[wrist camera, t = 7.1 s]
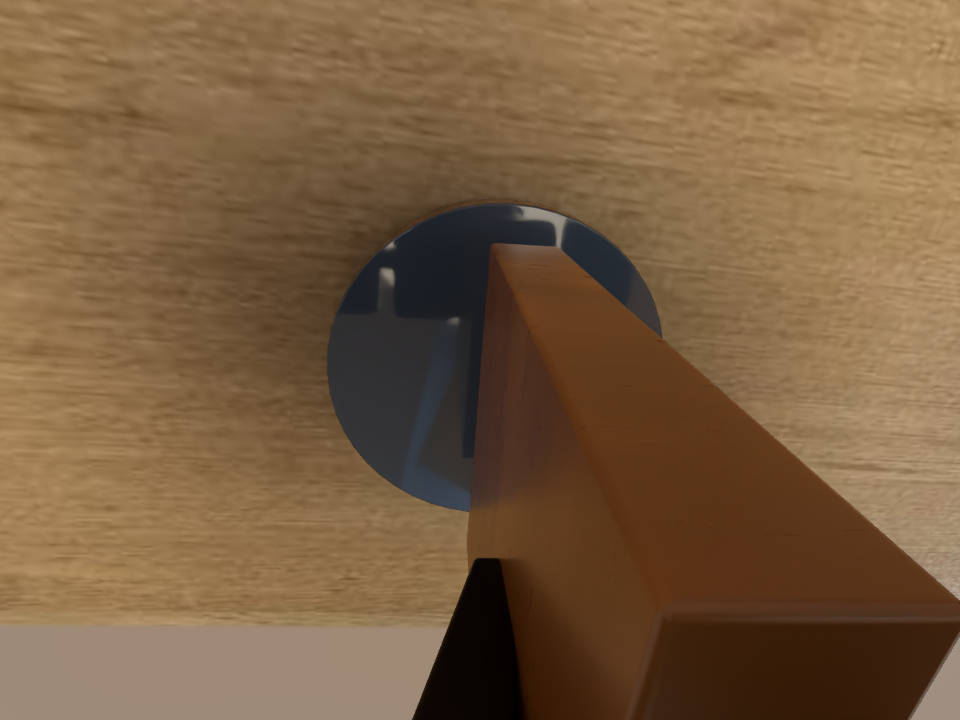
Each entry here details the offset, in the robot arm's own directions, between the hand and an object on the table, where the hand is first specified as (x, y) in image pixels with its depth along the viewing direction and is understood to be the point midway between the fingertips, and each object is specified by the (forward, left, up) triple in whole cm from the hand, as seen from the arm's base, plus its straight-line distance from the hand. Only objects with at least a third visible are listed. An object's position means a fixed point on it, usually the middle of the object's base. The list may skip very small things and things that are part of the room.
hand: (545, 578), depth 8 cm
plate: (0, 0, -9) cm, 9 cm away
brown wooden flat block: (0, 0, -6) cm, 6 cm away
